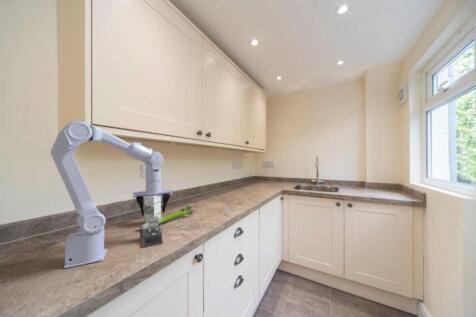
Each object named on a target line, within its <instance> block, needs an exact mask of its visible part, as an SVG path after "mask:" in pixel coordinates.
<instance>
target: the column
mask: <svg viewBox="0 0 476 317" xmlns="http://www.w3.org/2000/svg"><path fill="white" fill-rule="evenodd" d="M158 222H159V220H158V216H154V217H148V233H151V231H156V232H159V230H158V227H160V224H158Z"/></svg>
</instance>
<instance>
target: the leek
mask: <svg viewBox="0 0 476 317" xmlns="http://www.w3.org/2000/svg"><path fill="white" fill-rule="evenodd" d="M192 208H194V206H193V205H187V206H185V207H183V208H180V210H179V211H177V212H175V213H172V214H168V215H166V216H163V217H162V216H161V218H159V219H158V220H159V222H158V225H160V224H162V223H164V222H167V221H170V220H171V219H175V218H178V217H181V216H186V215H187V216H189V217H190V216H191V215H193V212H195V210H193V209H192ZM138 226H139V227H138V228H142V230H145V229H148V223H146V224H145V223H144V224H141V225H138Z"/></svg>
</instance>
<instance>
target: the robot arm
mask: <svg viewBox="0 0 476 317" xmlns="http://www.w3.org/2000/svg"><path fill="white" fill-rule="evenodd" d="M85 142H89V143H94V142H95V143H97V142H99V143H103V144H106V145H109V146H111V147H114V148H117V149H119V150H121V151H124V152H125V154H126V156H127V157H130V158H133V159H134V160H136V161H139V162H141V163H142V162H143V163H144V165H145V190H144V191H135V192H133V193H132V198H133V199H135V200H136V203H137V204H138V206H139V208H140V213H141V216H142V217H143V216H144V217H145V207H144V197H149V196H160V195H161V196H162V206H161V207H162V208H161V213H162V214H165V210H166V208H167V204H168V202H169V200H170V197H171V196H172V195H173V190H172V189H162V164H164V160H165V159H164V157H163V154H162V153H161V152H159V151H153V148H151V147H149V148H148V147H146V146H144V145H142V142H139V141H138V142H136V141H133V142H127V141H125V140H123V139H122V138H119V137H117V136H116V135H114V134H111V133H109V132H107V131H106V130H104V129H101V128H99V127H98V126H95V125H92V124H90V125H89V124H88V123H87V122H85V121H81V120H74V121H70V122H68V123H66V125H65V126H64V127H63V128H62V129H61V130H60V131H59V132H58V134H57V135H56V139H55V141H54V143H53V144H52V148H51V149H50V155H51V158H52V160H53V162H54V164H55V167H56V169H57V171H58V173H59V175H60V177H61V179H62V181H63V184H64V186H65V189H66V191H67V193H68V195H69V197H70V199H71V202H72V204H73V206H74V209H75V212H76V219H75V221H76V224H77V225H78V226H79V227H78V228H77V230H76V231H75V232H74V233H69V234H68V235H67V237H66V239H65V246H64V266H63V269H68V268H73V267H78V266H83V265H87V264H92V263H98V262H102V261H104V259H105V257H106V255H107V252H108V248H105V225H106V221H107V220H106V219H107V218H106V216H105V215H104V214H103V213H101V212H100V211H99V209H98V207H97V206H96V204H95V202H94V200H93V198H92V195H91V194H90V191H89V188H88V186H87V183H86V182H85V178H84V176H83V174H82V172H81V170H80V167H79V165H78V162H77V160H76V158H75V156H74V154H75V152H77V150H78V149H79V148H80V146H81V145H83V144H84V143H85ZM153 194H155V195H153Z"/></svg>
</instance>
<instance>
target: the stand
mask: <svg viewBox="0 0 476 317" xmlns="http://www.w3.org/2000/svg"><path fill="white" fill-rule="evenodd" d="M158 230H159V232H156V231H151V233H148V229H145V230H143V229H142V230H141V232H142V233H141V240H142V241H141V243H142V244H141V246H142V247H141V249H144V248H149V247H153V246H154V247H155V246H160V245H163V244H164V241H163V231H162V227H161V226H159V227H158Z"/></svg>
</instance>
